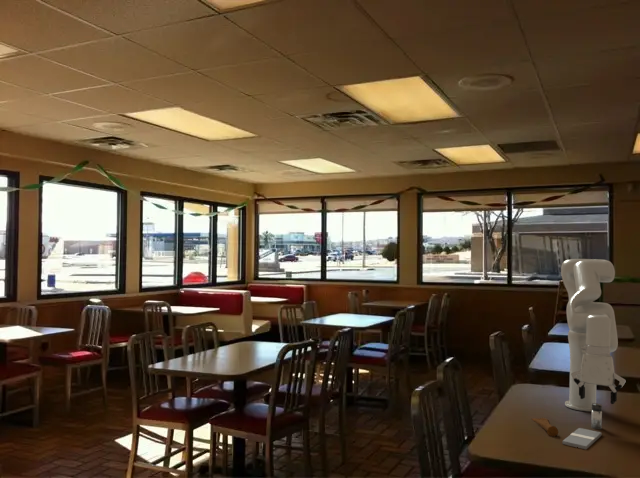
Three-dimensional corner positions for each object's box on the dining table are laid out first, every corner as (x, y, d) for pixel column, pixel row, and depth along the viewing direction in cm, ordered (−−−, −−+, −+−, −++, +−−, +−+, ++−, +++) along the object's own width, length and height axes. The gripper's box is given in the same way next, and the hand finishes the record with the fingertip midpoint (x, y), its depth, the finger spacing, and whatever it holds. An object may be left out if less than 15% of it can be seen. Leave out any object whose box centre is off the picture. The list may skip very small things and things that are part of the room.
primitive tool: (530, 419, 207) (531, 410, 207) (546, 420, 207) (546, 410, 207) (547, 437, 188) (547, 426, 188) (564, 438, 187) (564, 427, 188)
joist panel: (579, 430, 194) (579, 427, 194) (601, 435, 190) (601, 432, 190) (562, 444, 180) (562, 440, 180) (586, 449, 176) (586, 445, 176)
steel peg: (592, 425, 200) (593, 402, 200) (602, 427, 198) (603, 404, 198) (590, 427, 198) (590, 404, 198) (600, 429, 196) (600, 406, 196)
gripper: (568, 348, 201) (567, 398, 200) (623, 355, 190) (622, 407, 189) (574, 347, 207) (574, 394, 206) (628, 352, 196) (627, 403, 195)
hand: (597, 400), depth 197 cm, fingers open, 9 cm apart
